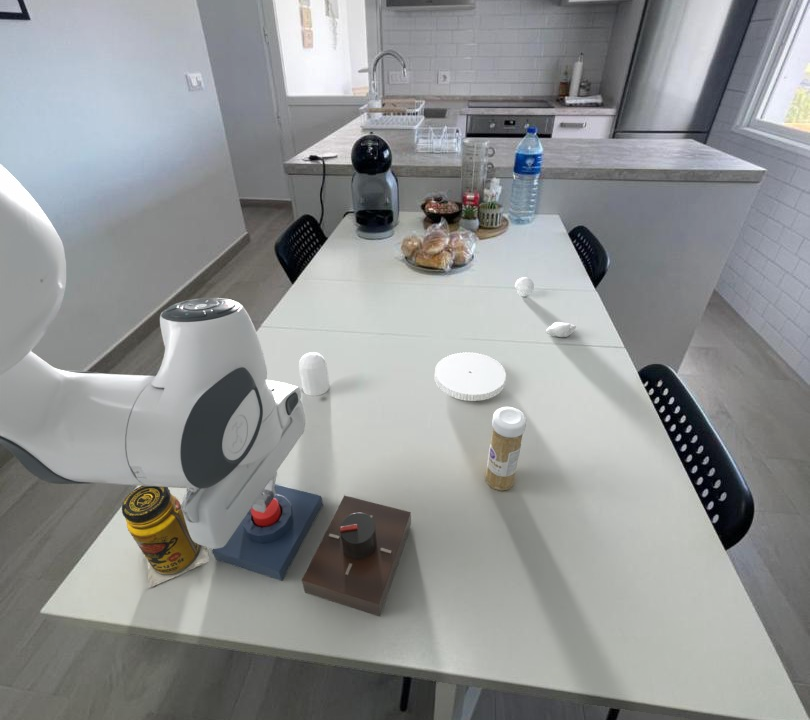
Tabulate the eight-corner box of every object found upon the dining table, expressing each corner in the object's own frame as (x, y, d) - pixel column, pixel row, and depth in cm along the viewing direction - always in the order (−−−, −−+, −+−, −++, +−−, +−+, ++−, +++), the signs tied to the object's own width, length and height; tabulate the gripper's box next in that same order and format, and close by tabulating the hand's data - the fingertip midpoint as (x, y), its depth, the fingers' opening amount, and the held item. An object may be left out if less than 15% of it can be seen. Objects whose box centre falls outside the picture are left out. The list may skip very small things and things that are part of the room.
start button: (272, 530, 59) (269, 522, 58) (248, 523, 60) (245, 515, 59) (285, 507, 62) (283, 500, 61) (262, 501, 63) (260, 493, 62)
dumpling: (553, 345, 101) (551, 329, 99) (543, 336, 105) (541, 321, 103) (582, 336, 101) (581, 320, 99) (571, 328, 106) (570, 313, 104)
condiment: (149, 588, 57) (112, 533, 50) (146, 535, 63) (112, 479, 56) (210, 562, 59) (182, 506, 52) (200, 514, 65) (174, 458, 58)
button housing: (282, 581, 57) (276, 564, 55) (215, 560, 60) (207, 542, 57) (323, 505, 66) (319, 487, 64) (264, 489, 69) (258, 472, 67)
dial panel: (380, 616, 53) (378, 603, 51) (305, 592, 56) (301, 579, 54) (411, 524, 63) (410, 511, 62) (346, 507, 66) (344, 494, 64)
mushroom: (509, 294, 120) (512, 277, 117) (522, 289, 122) (524, 272, 120) (524, 301, 117) (526, 284, 114) (536, 296, 119) (539, 278, 116)
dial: (374, 526, 60) (372, 508, 58) (378, 556, 56) (377, 538, 54) (341, 531, 59) (338, 513, 57) (343, 562, 56) (340, 545, 54)
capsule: (324, 397, 86) (319, 364, 82) (298, 394, 87) (291, 361, 83) (333, 380, 91) (328, 348, 86) (308, 377, 92) (302, 345, 87)
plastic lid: (451, 355, 97) (451, 345, 96) (513, 373, 92) (515, 363, 90) (422, 391, 87) (422, 381, 86) (490, 414, 82) (492, 403, 80)
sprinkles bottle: (478, 477, 70) (486, 413, 62) (500, 464, 72) (510, 401, 64) (498, 497, 67) (509, 432, 59) (520, 483, 69) (533, 419, 61)
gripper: (205, 508, 42) (239, 584, 50) (306, 379, 58) (320, 453, 66) (151, 492, 44) (193, 568, 52) (264, 371, 60) (282, 444, 68)
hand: (265, 502), depth 59 cm, fingers closed
